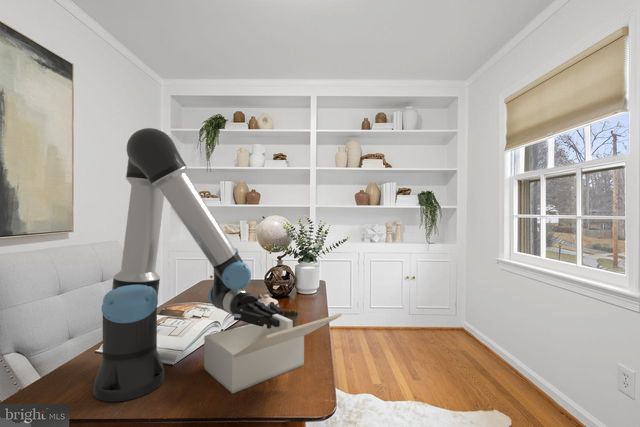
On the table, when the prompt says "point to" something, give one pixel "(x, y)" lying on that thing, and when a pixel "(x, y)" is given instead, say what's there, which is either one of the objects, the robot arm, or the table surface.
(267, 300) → the teacup with lid
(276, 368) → the mailer box
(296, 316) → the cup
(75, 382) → the table surface
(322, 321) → the lid flap
